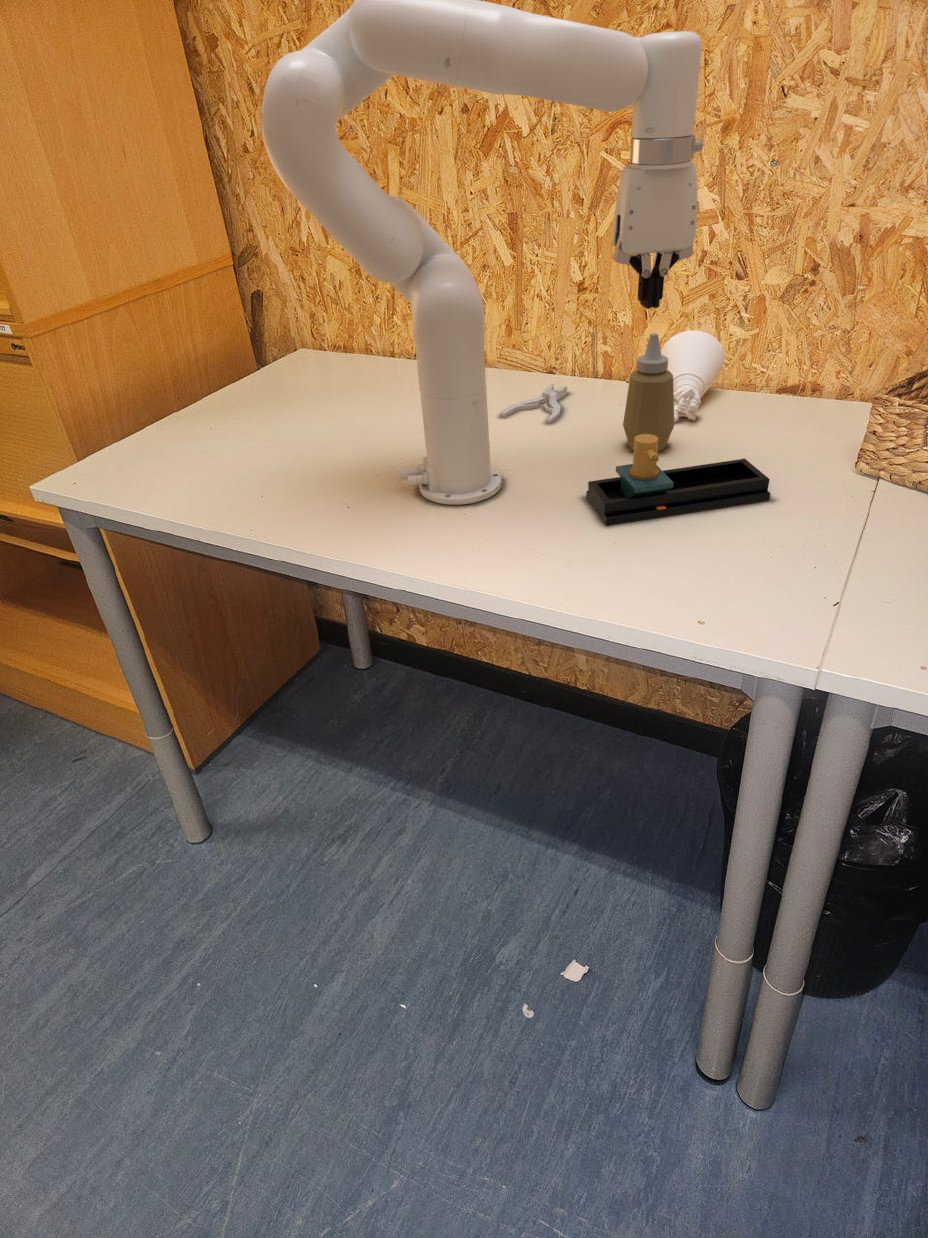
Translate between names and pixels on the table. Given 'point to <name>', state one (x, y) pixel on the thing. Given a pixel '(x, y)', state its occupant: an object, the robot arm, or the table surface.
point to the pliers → (548, 396)
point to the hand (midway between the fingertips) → (649, 305)
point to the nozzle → (643, 469)
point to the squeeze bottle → (650, 397)
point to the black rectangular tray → (682, 492)
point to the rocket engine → (692, 368)
